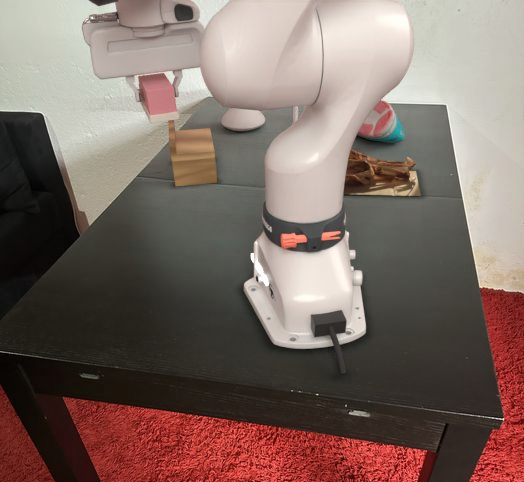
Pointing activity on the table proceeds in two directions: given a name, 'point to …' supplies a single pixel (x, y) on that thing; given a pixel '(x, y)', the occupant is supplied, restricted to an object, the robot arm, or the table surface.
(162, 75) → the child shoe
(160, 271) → the table surface
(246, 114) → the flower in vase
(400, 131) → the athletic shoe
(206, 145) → the brown boxy piece
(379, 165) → the driftwood on gold plate
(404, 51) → the robot arm
